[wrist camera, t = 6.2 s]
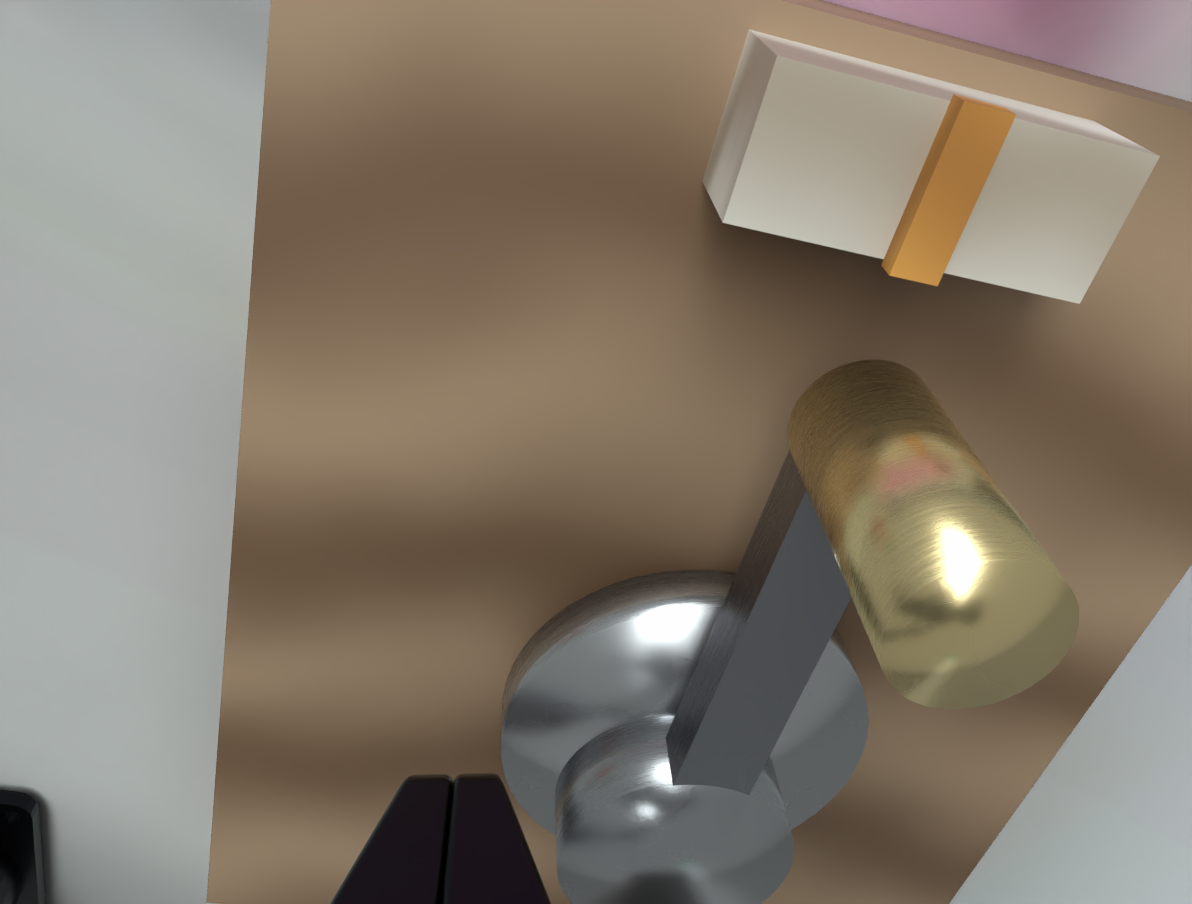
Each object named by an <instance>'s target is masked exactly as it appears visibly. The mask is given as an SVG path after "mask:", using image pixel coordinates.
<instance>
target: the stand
mask: <svg viewBox="0 0 1192 904" xmlns="http://www.w3.org/2000/svg"><path fill="white" fill-rule="evenodd" d="M861 360H886V361H891V362H895V363H898V364H901V365H903V366H905V367H907V368H909V369H910V370H912V371H914V372H915V373H916V374H917V375H918V376H919V377H920V378H921V379H922V380H923V381H924V382H925V384H926V385H927V386H928V388H929V389H930V391H931V392H932V394H933V395H934V396H935V398H936V399H937V401H938V402H939V403H940V405H941V406H942V408H943V409H944V410H945V412H946V413H947V415H948V416H949V417H950V419H951V420H952V422H953V423H954V424H955V426H956V427H957V429H958V430H959V431H960V433H961V434H962V436H963V437H964V439H965V440H966V441H967V443H968V444H969V446H970V447H971V448H972V450H973V451H974V453H975V454H976V455H977V457H978V458H979V460H980V461H981V462H982V464H983V465H984V467H985V468H986V469H987V471H988V472H989V474H990V475H991V476H992V478H993V479H994V481H995V482H996V484H997V485H998V486H999V488H1000V489H1001V491H1002V492H1003V493H1004V495H1005V496H1006V498H1007V499H1008V500H1009V502H1010V503H1011V505H1012V506H1013V507H1014V509H1015V510H1016V512H1017V513H1018V514H1019V516H1020V517H1021V519H1022V520H1023V521H1024V523H1025V524H1026V526H1027V527H1028V529H1029V530H1030V531H1031V533H1032V534H1033V536H1034V537H1035V538H1036V540H1037V541H1038V543H1039V544H1040V545H1041V547H1042V548H1043V550H1044V551H1045V552H1046V554H1047V555H1048V557H1049V558H1050V559H1051V561H1052V562H1053V564H1054V565H1055V566H1056V568H1057V569H1058V571H1059V572H1060V574H1061V575H1062V576H1063V578H1064V579H1065V581H1066V582H1067V583H1068V585H1069V586H1070V588H1071V589H1072V591H1073V593H1074V594H1075V596H1076V599H1077V602H1078V605H1079V614H1080V617H1079V626H1078V630H1077V634H1076V637H1075V639H1074V641H1073V644H1072V645H1071V647H1070V649H1069V650H1068V652H1067V654H1066V655H1065V656H1064V658H1063V659H1062V660H1061V661H1060V663H1059V664H1058V665H1057V666H1056V667H1055V668H1054V669H1053V670H1052V671H1051V672H1050V673H1049V674H1047V675H1046V676H1045V677H1044V678H1043V679H1041V680H1040V681H1039V682H1037V683H1036V684H1034V685H1033V686H1031V687H1030V688H1028V689H1026V690H1024V691H1023V692H1021V693H1019V694H1017V695H1014V696H1012V697H1010V698H1008V699H1005V700H1002V701H1000V702H997V703H993V704H990V705H986V706H981V707H976V708H969V709H938V708H932V707H928V706H924V705H921V704H918V703H915V702H913V701H911V700H909V699H907V698H905V697H904V696H902V695H901V694H899V693H898V692H897V691H896V690H895V689H894V688H893V687H892V686H891V685H890V683H889V682H888V681H887V679H886V677H885V675H884V673H883V671H882V669H881V666H880V664H879V661H878V659H877V657H876V654H875V652H874V650H873V647H872V645H871V642H870V640H869V638H868V635H867V633H866V630H865V628H864V626H863V623H862V621H861V619H860V616H859V614H858V611H857V609H856V607H855V604H854V602H853V600H852V597H851V599H850V601H849V603H848V605H847V607H846V608H845V610H844V612H843V614H842V616H841V618H840V620H839V622H838V624H837V626H836V630H837V631H838V632H839V634H840V636H841V638H842V640H843V642H844V644H845V646H846V648H847V650H848V652H849V655H850V657H851V660H852V663H853V665H854V668H855V670H856V673H857V675H858V678H859V681H860V683H861V686H862V688H863V691H864V695H865V698H866V702H867V706H868V718H869V725H868V734H867V740H866V744H865V747H864V750H863V754H862V756H861V758H860V760H859V762H858V764H857V766H856V768H855V771H854V772H853V774H852V775H851V776H850V778H849V779H848V781H847V782H846V784H845V785H844V786H843V788H842V789H841V790H840V791H839V792H838V793H837V794H836V795H835V796H834V798H833V799H832V800H831V801H830V802H828V803H827V804H826V805H825V806H824V807H823V808H822V809H820V810H819V811H818V812H817V813H816V814H814V815H813V816H811V817H810V818H809V819H807V820H806V821H804V822H803V823H802V824H800V825H798V826H797V827H795V828H793V829H791V833H792V836H793V842H794V858H793V862H792V866H791V868H790V870H789V873H788V875H787V877H786V878H785V879H784V881H783V882H782V884H781V885H780V886H779V887H778V889H777V890H776V891H775V892H774V893H773V894H772V895H771V896H769V897H768V898H767V899H766V900H765V901H764V902H762V903H761V904H949V903H950V901H951V900H952V899H953V897H954V896H955V894H956V893H957V892H958V890H959V889H960V887H961V886H962V885H963V883H964V882H965V880H966V879H967V878H968V876H969V875H970V873H971V872H972V871H973V869H974V868H975V866H976V865H977V864H978V862H979V861H980V859H981V858H982V857H983V855H984V854H985V852H986V851H987V850H988V848H989V847H990V846H991V844H992V843H993V841H994V840H995V839H996V837H997V836H998V834H999V833H1000V832H1001V830H1002V829H1003V827H1004V826H1005V825H1006V823H1007V822H1008V820H1009V819H1010V818H1011V816H1012V815H1013V813H1014V812H1015V811H1016V809H1017V808H1018V806H1019V805H1020V804H1021V802H1022V801H1023V799H1024V798H1025V797H1026V795H1027V794H1028V792H1029V791H1030V790H1031V788H1032V787H1033V785H1034V784H1035V783H1036V781H1037V780H1038V778H1039V777H1040V776H1041V774H1042V773H1043V771H1044V770H1045V769H1046V767H1047V766H1048V764H1049V763H1050V762H1051V760H1052V759H1053V757H1054V756H1055V755H1056V753H1057V752H1058V750H1059V749H1060V748H1061V746H1062V745H1063V743H1064V742H1065V741H1066V739H1067V738H1068V736H1069V735H1070V734H1071V732H1072V731H1073V729H1074V728H1075V727H1076V725H1077V724H1078V723H1079V721H1080V720H1081V718H1082V717H1083V716H1084V714H1085V713H1086V711H1087V710H1088V709H1089V707H1090V706H1091V704H1092V703H1093V702H1094V700H1095V699H1096V697H1097V696H1098V695H1099V693H1100V692H1101V690H1102V689H1103V688H1104V686H1105V685H1106V683H1107V682H1108V681H1109V679H1110V678H1111V676H1112V675H1113V674H1114V672H1115V671H1116V669H1117V668H1118V667H1119V665H1120V664H1121V662H1122V661H1123V660H1124V658H1125V657H1126V655H1127V654H1128V653H1129V651H1130V650H1131V648H1132V647H1133V646H1134V644H1135V643H1136V641H1137V640H1138V639H1139V637H1140V636H1141V634H1142V633H1143V632H1144V630H1145V629H1146V627H1147V626H1148V625H1149V623H1150V622H1151V620H1152V619H1153V618H1154V616H1155V615H1156V613H1157V612H1158V611H1159V609H1160V608H1161V606H1162V605H1163V604H1164V602H1165V601H1166V599H1167V598H1168V597H1169V595H1170V594H1171V593H1172V591H1173V590H1174V588H1175V587H1176V586H1177V584H1178V583H1179V581H1180V580H1181V579H1182V577H1183V576H1184V574H1185V573H1186V572H1187V570H1188V569H1189V567H1190V566H1191V565H1192V102H1189V101H1185V100H1181V99H1178V98H1174V97H1170V96H1167V95H1163V94H1160V93H1156V92H1152V91H1149V90H1145V89H1141V88H1138V87H1134V86H1131V85H1127V84H1123V83H1120V82H1116V81H1112V80H1109V79H1105V78H1102V77H1098V76H1094V75H1091V74H1087V73H1083V72H1080V71H1076V70H1072V69H1069V68H1065V67H1062V66H1058V65H1054V64H1051V63H1047V62H1043V61H1040V60H1036V59H1033V58H1029V57H1025V56H1022V55H1018V54H1014V53H1011V52H1007V51H1004V50H1000V49H996V48H993V47H989V46H985V45H982V44H978V43H975V42H971V41H967V40H964V39H960V38H956V37H953V36H949V35H946V34H942V33H938V32H935V31H931V30H927V29H924V28H920V27H916V26H913V25H909V24H906V23H902V22H898V21H895V20H891V19H887V18H884V17H880V16H877V15H873V14H869V13H866V12H862V11H858V10H855V9H851V8H848V7H844V6H840V5H837V4H833V3H829V2H826V1H822V0H271V9H270V23H269V37H268V51H267V65H266V79H265V93H264V107H263V121H262V134H261V148H260V162H259V176H258V190H257V204H256V218H255V232H254V246H253V260H252V274H251V288H250V302H249V316H248V330H247V344H246V358H245V372H244V386H243V400H242V414H241V428H240V442H239V456H238V470H237V484H236V498H235V512H234V526H233V540H232V554H231V568H230V582H229V596H228V610H227V624H226V638H225V652H224V666H223V680H222V694H221V708H220V722H219V736H218V750H217V764H216V778H215V792H214V806H213V820H212V834H211V848H210V861H209V875H208V889H207V903H218V904H330V903H331V901H332V899H333V898H334V896H335V894H336V893H337V891H338V889H339V887H340V886H341V884H342V882H343V881H344V879H345V877H346V876H347V874H348V872H349V871H350V869H351V867H352V866H353V864H354V862H355V861H356V859H357V857H358V856H359V854H360V852H361V850H362V849H363V847H364V845H365V844H366V842H367V840H368V839H369V837H370V835H371V834H372V832H373V830H374V829H375V827H376V825H377V824H378V822H379V820H380V819H381V817H382V815H383V813H384V812H385V810H386V808H387V807H388V805H389V803H390V802H391V800H392V798H393V797H394V795H395V793H396V792H397V790H398V788H399V787H400V785H401V784H402V782H403V781H404V780H405V779H406V778H407V777H409V776H411V775H428V774H445V775H449V776H450V777H451V778H452V780H453V782H454V779H455V778H456V777H457V776H458V775H460V774H474V773H495V774H497V775H499V776H500V778H501V779H502V781H503V783H504V785H505V788H506V790H507V793H508V795H509V798H510V800H511V803H512V805H513V808H514V811H515V813H516V816H517V818H518V821H519V823H520V826H521V828H522V831H523V833H524V836H525V839H526V841H527V844H528V846H529V849H530V851H531V854H532V856H533V859H534V861H535V864H536V866H537V869H538V872H539V874H540V877H541V879H542V882H543V884H544V887H545V889H546V892H547V894H548V897H549V900H550V902H551V904H572V903H571V902H570V901H569V900H568V899H567V897H566V896H565V894H564V892H563V891H562V889H561V887H560V884H559V881H558V876H557V863H556V836H555V835H554V834H552V833H550V832H549V831H547V830H546V829H544V828H543V827H542V826H541V825H539V824H538V823H537V822H536V821H535V820H534V819H532V818H531V817H530V816H529V815H528V814H527V813H526V811H525V810H524V809H523V808H522V807H521V806H520V804H519V803H518V802H517V800H516V798H515V797H514V795H513V793H512V792H511V790H510V788H509V786H508V783H507V780H506V778H505V775H504V771H503V766H502V760H501V735H502V698H503V693H504V688H505V683H506V680H507V678H508V675H509V672H510V670H511V667H512V665H513V663H514V662H515V660H516V658H517V657H518V655H519V653H520V652H521V650H522V648H523V647H524V646H525V645H526V643H527V642H528V641H529V640H530V639H531V637H532V636H533V635H534V634H535V633H536V632H537V631H538V630H539V629H540V628H541V627H542V626H543V625H544V624H545V623H546V622H547V621H549V620H550V619H551V618H552V617H554V616H555V615H556V614H558V613H559V612H560V611H562V610H563V609H565V608H566V607H567V606H569V605H571V604H572V603H574V602H576V601H578V600H579V599H581V598H583V597H585V596H587V595H588V594H590V593H593V592H595V591H598V590H600V589H602V588H605V587H607V586H609V585H612V584H615V583H618V582H621V581H625V580H628V579H631V578H635V577H639V576H644V575H649V574H654V573H659V572H667V571H678V570H716V571H725V572H734V573H737V570H738V568H739V566H740V563H741V561H742V559H743V556H744V554H745V552H746V549H747V547H748V545H749V542H750V540H751V538H752V535H753V533H754V531H755V528H756V526H757V524H758V521H759V519H760V517H761V514H762V512H763V510H764V507H765V505H766V503H767V500H768V498H769V496H770V493H771V491H772V489H773V486H774V484H775V482H776V479H777V477H778V475H779V472H780V470H781V468H782V465H783V463H784V461H785V458H786V456H787V454H788V451H789V446H788V439H787V428H788V423H789V418H790V415H791V413H792V410H793V408H794V406H795V404H796V402H797V401H798V399H799V398H800V396H801V395H802V394H803V393H804V391H805V390H806V389H807V388H808V387H809V386H810V385H811V384H812V383H813V382H814V381H816V380H817V379H818V378H820V377H821V376H822V375H824V374H826V373H827V372H829V371H831V370H833V369H835V368H837V367H839V366H842V365H845V364H848V363H851V362H856V361H861Z"/></svg>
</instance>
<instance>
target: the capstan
mask: <svg viewBox="0 0 1192 904" xmlns="http://www.w3.org/2000/svg"><path fill="white" fill-rule="evenodd" d="M787 439H788V446H789V451H788V454H787V456H786V458H785V461H784V463H783V465H782V468H781V470H780V472H779V475H778V477H777V479H776V482H775V484H774V486H773V489H772V491H771V493H770V496H769V498H768V500H767V503H766V505H765V507H764V510H763V512H762V514H761V517H760V519H759V521H758V524H757V526H756V528H755V531H754V533H753V535H752V538H751V540H750V542H749V545H748V547H747V549H746V552H745V554H744V556H743V559H742V561H741V563H740V566H739V568H738V570H737V573H734V572H725V571H716V570H678V571H667V572H659V573H654V574H649V575H644V576H639V577H635V578H631V579H628V580H625V581H621V582H618V583H615V584H612V585H609V586H607V587H605V588H602V589H600V590H598V591H595V592H593V593H590V594H588V595H587V596H585V597H583V598H581V599H579V600H578V601H576V602H574V603H572V604H571V605H569V606H567V607H566V608H565V609H563V610H562V611H560V612H559V613H558V614H556V615H555V616H554V617H552V618H551V619H550V620H549V621H547V622H546V623H545V624H544V625H543V626H542V627H541V628H540V629H539V630H538V631H537V632H536V633H535V634H534V635H533V636H532V637H531V639H530V640H529V641H528V642H527V643H526V645H525V646H524V647H523V648H522V650H521V652H520V653H519V655H518V657H517V658H516V660H515V662H514V663H513V665H512V667H511V670H510V672H509V675H508V678H507V680H506V683H505V688H504V693H503V698H502V735H501V760H502V766H503V771H504V775H505V778H506V780H507V783H508V786H509V788H510V790H511V792H512V793H513V795H514V797H515V798H516V800H517V802H518V803H519V804H520V806H521V807H522V808H523V809H524V810H525V811H526V813H527V814H528V815H529V816H530V817H531V818H532V819H534V820H535V821H536V822H537V823H538V824H539V825H541V826H542V827H543V828H544V829H546V830H547V831H549V832H550V833H552V834H554V835H555V836H556V863H557V876H558V881H559V884H560V887H561V889H562V891H563V892H564V894H565V896H566V897H567V899H568V900H569V901H570V902H571V903H572V904H761V903H762V902H764V901H765V900H766V899H767V898H768V897H769V896H771V895H772V894H773V893H774V892H775V891H776V890H777V889H778V887H779V886H780V885H781V884H782V882H783V881H784V879H785V878H786V877H787V875H788V873H789V870H790V868H791V866H792V862H793V858H794V842H793V836H792V833H791V829H793V828H795V827H797V826H798V825H800V824H802V823H803V822H804V821H806V820H807V819H809V818H810V817H811V816H813V815H814V814H816V813H817V812H818V811H819V810H820V809H822V808H823V807H824V806H825V805H826V804H827V803H828V802H830V801H831V800H832V799H833V798H834V796H835V795H836V794H837V793H838V792H839V791H840V790H841V789H842V788H843V786H844V785H845V784H846V782H847V781H848V779H849V778H850V776H851V775H852V774H853V772H854V771H855V768H856V766H857V764H858V762H859V760H860V758H861V756H862V754H863V750H864V747H865V744H866V740H867V734H868V725H869V718H868V706H867V702H866V698H865V695H864V691H863V688H862V686H861V683H860V681H859V678H858V675H857V673H856V670H855V668H854V665H853V663H852V660H851V657H850V655H849V652H848V650H847V648H846V646H845V644H844V642H843V640H842V638H841V636H840V634H839V632H838V631H837V630H836V626H837V624H838V622H839V620H840V618H841V616H842V614H843V612H844V610H845V608H846V607H847V605H848V603H849V601H850V599H851V597H852V600H853V602H854V604H855V607H856V609H857V611H858V614H859V616H860V619H861V621H862V623H863V626H864V628H865V630H866V633H867V635H868V638H869V640H870V642H871V645H872V647H873V650H874V652H875V654H876V657H877V659H878V661H879V664H880V666H881V669H882V671H883V673H884V675H885V677H886V679H887V681H888V682H889V683H890V685H891V686H892V687H893V688H894V689H895V690H896V691H897V692H898V693H899V694H901V695H902V696H904V697H905V698H907V699H909V700H911V701H913V702H915V703H918V704H921V705H924V706H928V707H932V708H938V709H969V708H976V707H981V706H986V705H990V704H993V703H997V702H1000V701H1002V700H1005V699H1008V698H1010V697H1012V696H1014V695H1017V694H1019V693H1021V692H1023V691H1024V690H1026V689H1028V688H1030V687H1031V686H1033V685H1034V684H1036V683H1037V682H1039V681H1040V680H1041V679H1043V678H1044V677H1045V676H1046V675H1047V674H1049V673H1050V672H1051V671H1052V670H1053V669H1054V668H1055V667H1056V666H1057V665H1058V664H1059V663H1060V661H1061V660H1062V659H1063V658H1064V656H1065V655H1066V654H1067V652H1068V650H1069V649H1070V647H1071V645H1072V644H1073V641H1074V639H1075V637H1076V634H1077V630H1078V626H1079V617H1080V614H1079V605H1078V602H1077V599H1076V596H1075V594H1074V593H1073V591H1072V589H1071V588H1070V586H1069V585H1068V583H1067V582H1066V581H1065V579H1064V578H1063V576H1062V575H1061V574H1060V572H1059V571H1058V569H1057V568H1056V566H1055V565H1054V564H1053V562H1052V561H1051V559H1050V558H1049V557H1048V555H1047V554H1046V552H1045V551H1044V550H1043V548H1042V547H1041V545H1040V544H1039V543H1038V541H1037V540H1036V538H1035V537H1034V536H1033V534H1032V533H1031V531H1030V530H1029V529H1028V527H1027V526H1026V524H1025V523H1024V521H1023V520H1022V519H1021V517H1020V516H1019V514H1018V513H1017V512H1016V510H1015V509H1014V507H1013V506H1012V505H1011V503H1010V502H1009V500H1008V499H1007V498H1006V496H1005V495H1004V493H1003V492H1002V491H1001V489H1000V488H999V486H998V485H997V484H996V482H995V481H994V479H993V478H992V476H991V475H990V474H989V472H988V471H987V469H986V468H985V467H984V465H983V464H982V462H981V461H980V460H979V458H978V457H977V455H976V454H975V453H974V451H973V450H972V448H971V447H970V446H969V444H968V443H967V441H966V440H965V439H964V437H963V436H962V434H961V433H960V431H959V430H958V429H957V427H956V426H955V424H954V423H953V422H952V420H951V419H950V417H949V416H948V415H947V413H946V412H945V410H944V409H943V408H942V406H941V405H940V403H939V402H938V401H937V399H936V398H935V396H934V395H933V394H932V392H931V391H930V389H929V388H928V386H927V385H926V384H925V382H924V381H923V380H922V379H921V378H920V377H919V376H918V375H917V374H916V373H915V372H914V371H912V370H910V369H909V368H907V367H905V366H903V365H901V364H898V363H895V362H891V361H886V360H861V361H856V362H851V363H848V364H845V365H842V366H839V367H837V368H835V369H833V370H831V371H829V372H827V373H826V374H824V375H822V376H821V377H820V378H818V379H817V380H816V381H814V382H813V383H812V384H811V385H810V386H809V387H808V388H807V389H806V390H805V391H804V393H803V394H802V395H801V396H800V398H799V399H798V401H797V402H796V404H795V406H794V408H793V410H792V413H791V415H790V418H789V423H788V428H787Z"/></svg>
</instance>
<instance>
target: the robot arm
mask: <svg viewBox="0 0 1192 904" xmlns="http://www.w3.org/2000/svg"><path fill="white" fill-rule="evenodd" d="M0 904H45V891H44V876H43V862H42V847H41V832H40V818H39V806H38V803H37V801H36V800H35V799H34V798H33V797H31V796H29V795H27V794H25V793H20V792H14V791H4V790H0ZM330 904H551V902H550V900H549V897H548V894H547V892H546V889H545V887H544V884H543V882H542V879H541V877H540V874H539V872H538V869H537V866H536V864H535V861H534V859H533V856H532V854H531V851H530V849H529V846H528V844H527V841H526V839H525V836H524V833H523V831H522V828H521V826H520V823H519V821H518V818H517V816H516V813H515V811H514V808H513V805H512V803H511V800H510V798H509V795H508V793H507V790H506V788H505V785H504V783H503V781H502V779H501V778H500V776H499V775H497V774H495V773H474V774H460V775H458V776H457V777H456V778H455V779H454V782H453V780H452V778H451V777H450V776H449V775H445V774H428V775H411V776H409V777H407V778H406V779H405V780H404V781H403V782H402V784H401V785H400V787H399V788H398V790H397V792H396V793H395V795H394V797H393V798H392V800H391V802H390V803H389V805H388V807H387V808H386V810H385V812H384V813H383V815H382V817H381V819H380V820H379V822H378V824H377V825H376V827H375V829H374V830H373V832H372V834H371V835H370V837H369V839H368V840H367V842H366V844H365V845H364V847H363V849H362V850H361V852H360V854H359V856H358V857H357V859H356V861H355V862H354V864H353V866H352V867H351V869H350V871H349V872H348V874H347V876H346V877H345V879H344V881H343V882H342V884H341V886H340V887H339V889H338V891H337V893H336V894H335V896H334V898H333V899H332V901H331V903H330Z"/></svg>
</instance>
